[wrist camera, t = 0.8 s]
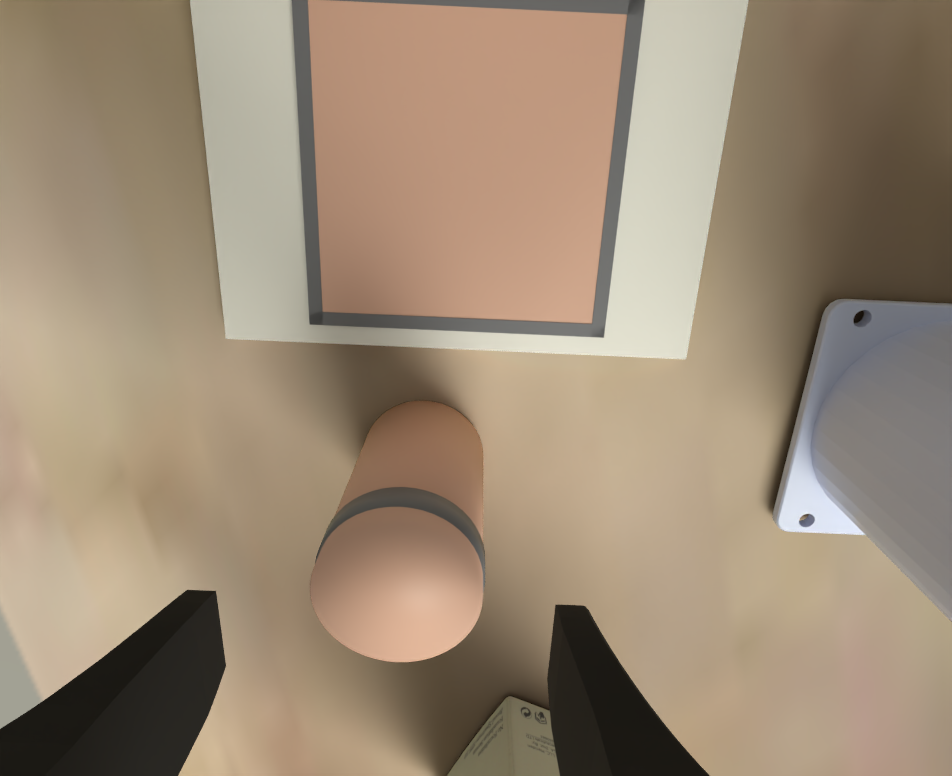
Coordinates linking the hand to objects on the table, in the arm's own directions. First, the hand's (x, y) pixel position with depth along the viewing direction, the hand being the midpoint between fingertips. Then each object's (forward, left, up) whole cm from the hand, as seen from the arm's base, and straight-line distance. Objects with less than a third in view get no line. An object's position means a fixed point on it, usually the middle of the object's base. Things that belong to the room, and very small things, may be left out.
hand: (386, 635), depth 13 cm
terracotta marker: (0, 0, -8) cm, 8 cm away
